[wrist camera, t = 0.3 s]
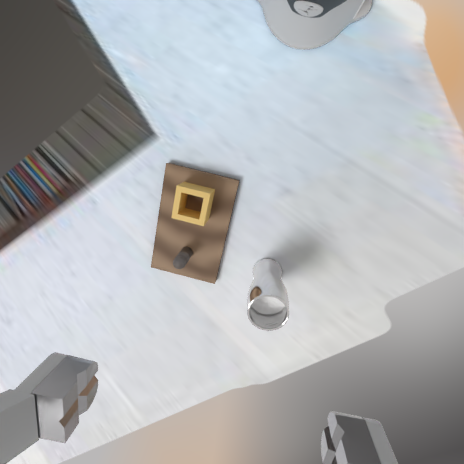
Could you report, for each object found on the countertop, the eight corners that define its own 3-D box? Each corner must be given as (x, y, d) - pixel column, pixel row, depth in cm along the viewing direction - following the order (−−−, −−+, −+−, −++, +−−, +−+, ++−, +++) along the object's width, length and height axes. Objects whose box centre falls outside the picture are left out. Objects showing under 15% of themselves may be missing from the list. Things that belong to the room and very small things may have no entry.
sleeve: (184, 181, 53) (176, 185, 48) (215, 189, 52) (210, 193, 48) (179, 211, 55) (171, 218, 50) (208, 219, 54) (203, 226, 50)
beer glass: (252, 254, 57) (248, 290, 43) (286, 258, 57) (294, 297, 42) (248, 284, 59) (243, 328, 45) (281, 288, 59) (286, 335, 45)
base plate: (168, 162, 53) (152, 166, 46) (239, 180, 53) (235, 186, 45) (153, 264, 60) (137, 281, 53) (215, 280, 60) (208, 300, 52)
